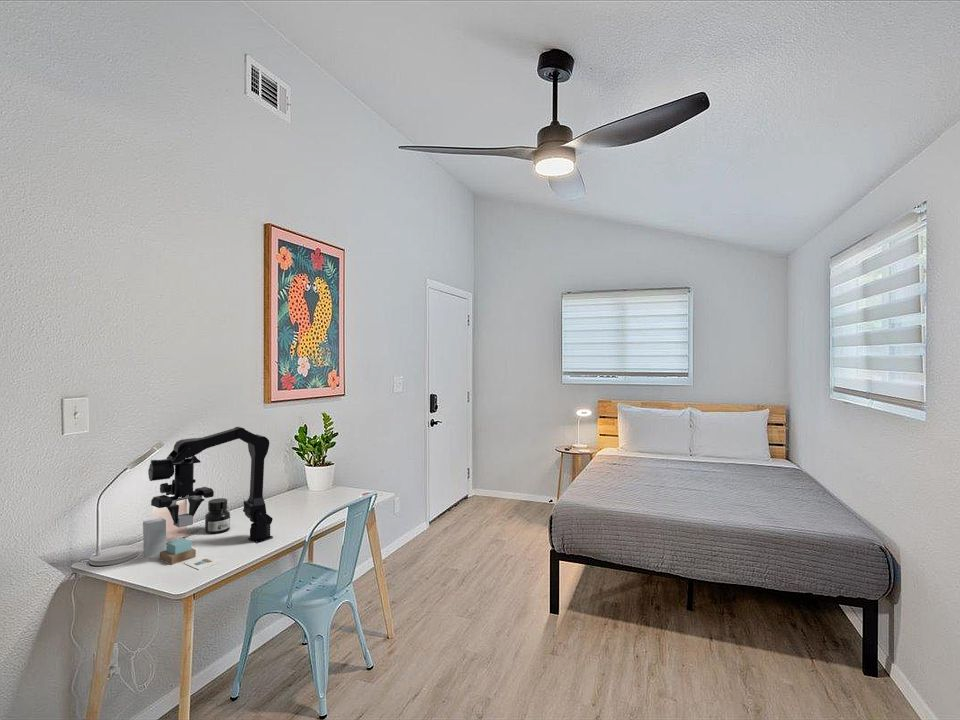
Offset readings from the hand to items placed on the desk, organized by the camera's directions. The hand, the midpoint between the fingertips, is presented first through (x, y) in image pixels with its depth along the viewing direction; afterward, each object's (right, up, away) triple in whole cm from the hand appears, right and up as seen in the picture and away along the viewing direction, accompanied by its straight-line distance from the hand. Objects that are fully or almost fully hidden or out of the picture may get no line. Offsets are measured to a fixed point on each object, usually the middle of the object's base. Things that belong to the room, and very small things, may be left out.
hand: (183, 521), depth 181 cm
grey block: (0, -1, 0) cm, 1 cm away
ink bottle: (-2, -12, +27) cm, 30 cm away
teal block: (-1, -10, 0) cm, 10 cm away
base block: (-2, -13, 0) cm, 13 cm away
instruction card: (+9, -13, -4) cm, 16 cm away
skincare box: (-12, -13, +3) cm, 17 cm away
